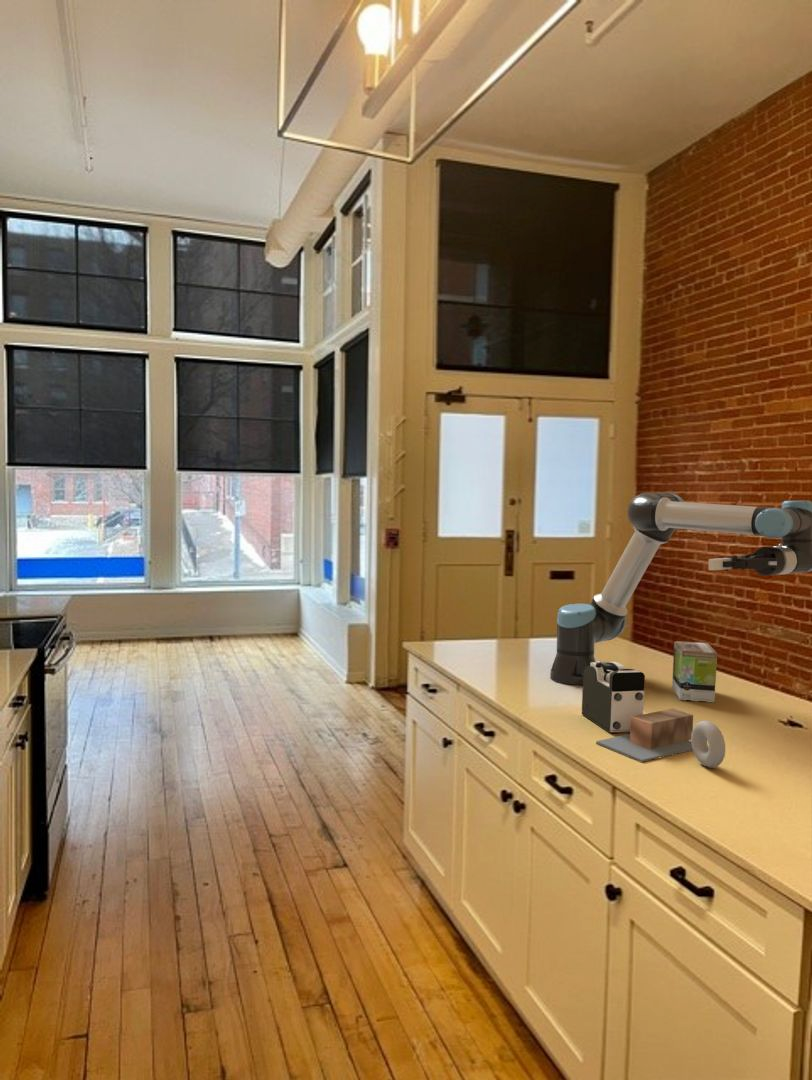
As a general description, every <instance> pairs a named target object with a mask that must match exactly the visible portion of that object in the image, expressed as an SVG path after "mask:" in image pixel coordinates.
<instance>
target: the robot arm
mask: <svg viewBox="0 0 812 1080" xmlns="http://www.w3.org/2000/svg"><path fill="white" fill-rule="evenodd" d="M626 514H627V515H626V516H627V519H628V521H629V523H630V525H632V527H633V531H634V533H633V535H632V536H631V538H630V539H629V542H628V544H627V545H626V547H625V548H624V550H623V553H622V554H621V556H620V558H619V560H618V562H617V563H616V566H615V568H614V569H613V571H612V573H611V574H610V577H609V578H608V579H607V582H606V584H605V585H604V588H603V589H602V591H601V593H597V594H595V595H594V596H593V598H592V599H591V602H590V603H589V604H587V603H574V604H573V603H569V604H566V605H563V606H561V607H560V608H558V611H557V619H556V624H557V625H556V626H557V627H556V655H555V657H554V660H553V663H552V666H551V669H550V674H549V675H550V679H551V680H552V681H554V682H557V683H560V684H567V685H576V686H578V685H579V686H583V673H584V670H585V668H586V666H590V663H591V662H596V661H597V660H596V659H595V644H596V643H602V642H606V641H611V640H613V639H616V638H618V637H619V636H620V635H621V634H622V633H623V632H624V630H625V628H626V624H627V620H626V616H627V614H628V609H627V607H626V606H627V604H628V603H629V601H630V599H631V597H632V595H633V594H634V593H635V590H636V588H637V587H638V585H639V583H640V582H641V579H642V578H643V576H644V574H645V573H646V571H647V569H648V567H649V565H650V564H651V562H652V560H653V558H654V557H655V555H656V553H657V551H658V550H659V547H660V546H661V545H663V544H666V543H668V542H669V540H670V539H671V537H672V535H673V533H674V532H675V531H678V530H679V529H680V530H691V531H701V532H704V531H705V532H714V533H723V534H724V533H725V534H737V535H747V536H748V535H749V536H758V537H765V538H769V539H780V538H781V539H780V540H781V543H779V544H778V545H776V546H775V545H774V546H770V545H767V546H761V547H759V548H757V549H755V551H754V552H753V553H748V554H742V555H741V556H739V555H735V554H734V555H732V556H725V557H723V556H721V557H718V558H709V559H708V571H721V570H723V571H724V572H728V571H729V570H732V569H733V570H737V569H741V570H755V572H756V573H757V574H759V575H761V576H777V575H778V576H781V575H788V574H804V573H808V572H809V573H810V572H812V501H811V500H784V501H782V503H781V507H769V506H768V507H765V506H764V507H763V506H750V505H738V504H737V505H734V504H717V503H707V502H706V503H703V502H702V503H701V502H686V501H685V500H684V499H683V498H682V497H680V496H679V495H677V494H675V493H671V492H667V491H663V492H642V493H640V494H637V495H636V496H634V497H632V499H631V501H629V504H628V505H627V509H626Z"/></svg>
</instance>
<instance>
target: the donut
mask: <svg viewBox="0 0 812 1080" xmlns="http://www.w3.org/2000/svg"><path fill="white" fill-rule="evenodd" d="M724 737H725V736H724V735H723V733H722V731H721V730H720V728H719V726H717V725H716V724H715V723H714V722H712V721H709V720H701V721H698V722H697V723H696V724H695V725H693V731H692V735H691V740H690V741H691V744H692V748H693V750H692V752H693V754H694V756H695V758H696V759H697V760H698V762H699V763H700V764H702V766H704V767H706V766H707V768H710V769H712V768H716V767H718V766H720V765H721V764H722V763H723V761H724V759H725V757H726V742H725V738H724Z"/></svg>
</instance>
